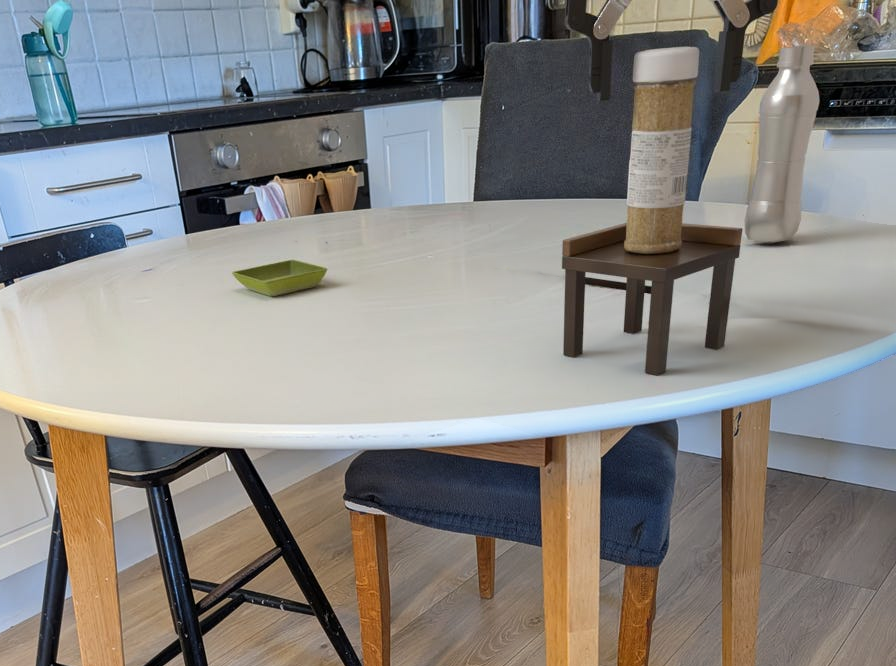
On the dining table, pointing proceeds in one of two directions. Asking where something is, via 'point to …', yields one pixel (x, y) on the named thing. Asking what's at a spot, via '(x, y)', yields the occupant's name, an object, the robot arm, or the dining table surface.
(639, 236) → the sprinkles bottle
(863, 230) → the dining table surface
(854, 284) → the dining table surface
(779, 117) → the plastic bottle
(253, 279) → the green square tray
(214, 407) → the dining table surface
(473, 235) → the dining table surface
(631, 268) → the small brown wooden table
